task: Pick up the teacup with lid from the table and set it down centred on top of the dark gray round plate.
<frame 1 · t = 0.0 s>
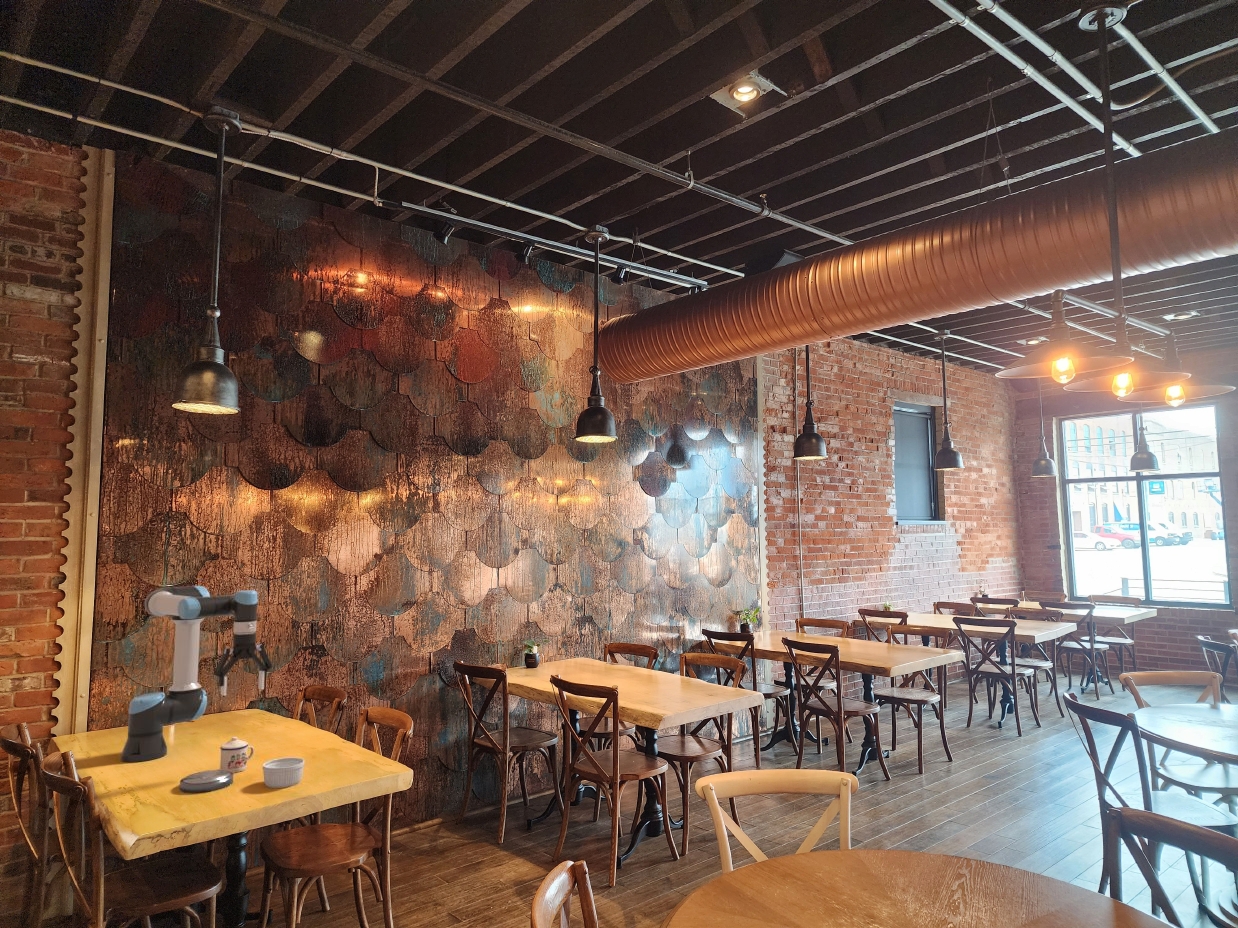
hand: (242, 691, 275), 28 cm above the table, tool pointing down, fingers open, 13 cm apart
dark gray round plate: (206, 785, 257), on the table
teacup with lid: (237, 769, 274), on the table
ramekin: (283, 783, 258), on the table
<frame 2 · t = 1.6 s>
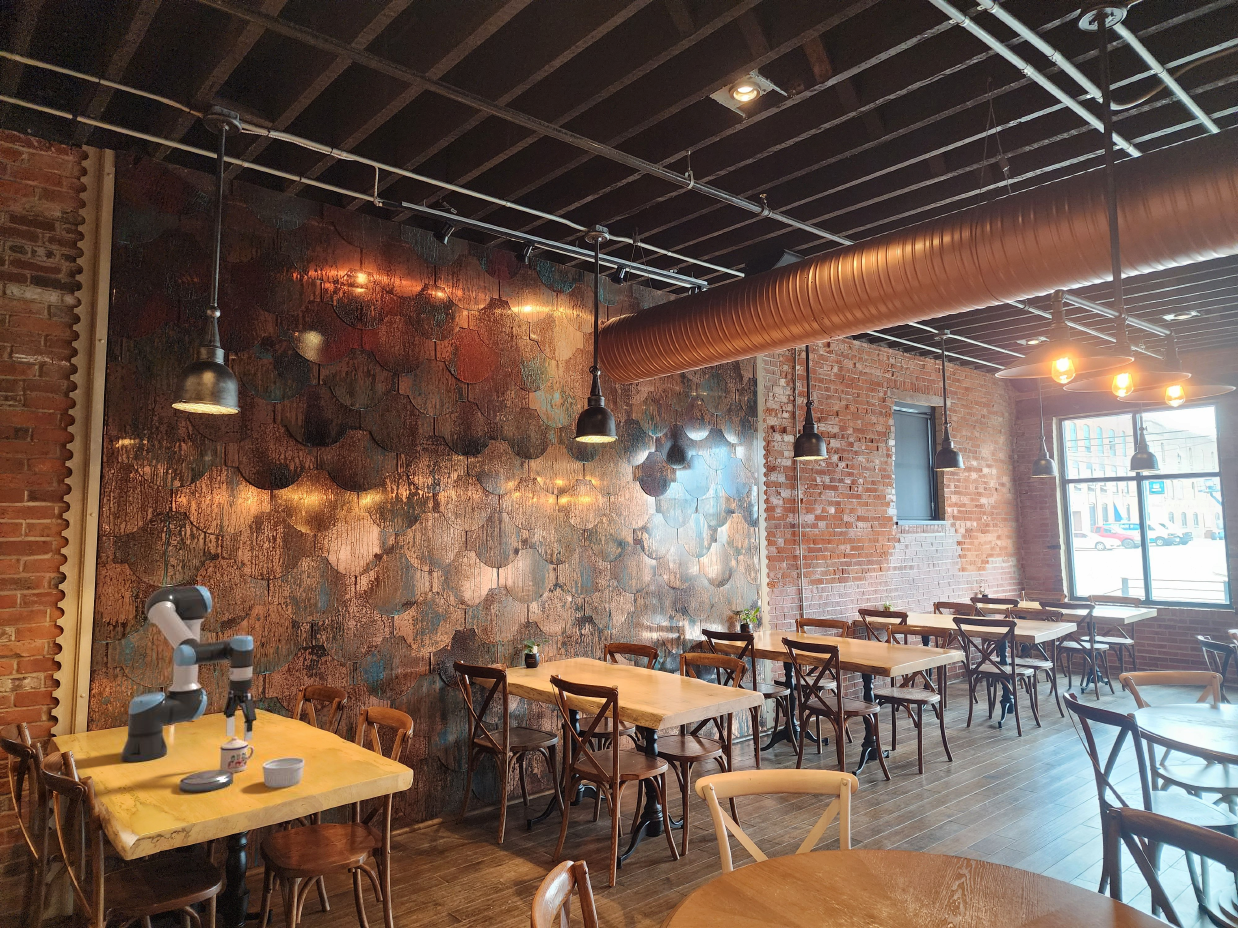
hand: (238, 738, 275), 11 cm above the table, tool pointing down, fingers open, 13 cm apart
nothing on the table moved.
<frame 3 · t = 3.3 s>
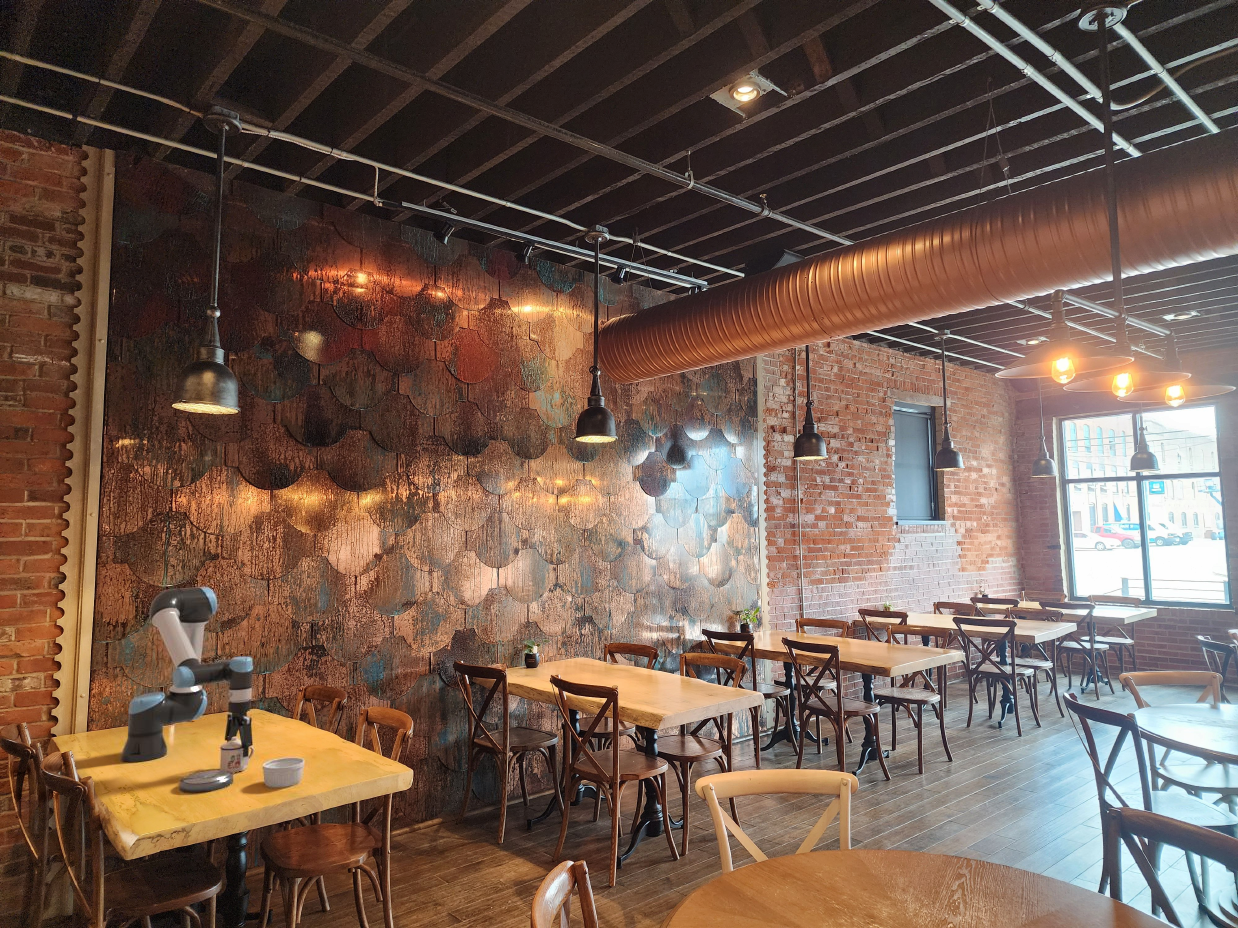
hand: (237, 763, 275), 2 cm above the table, tool pointing down, fingers closed on teacup with lid, 9 cm apart
teacup with lid: (237, 769, 274), on the table, touching gripper
everything else where it was.
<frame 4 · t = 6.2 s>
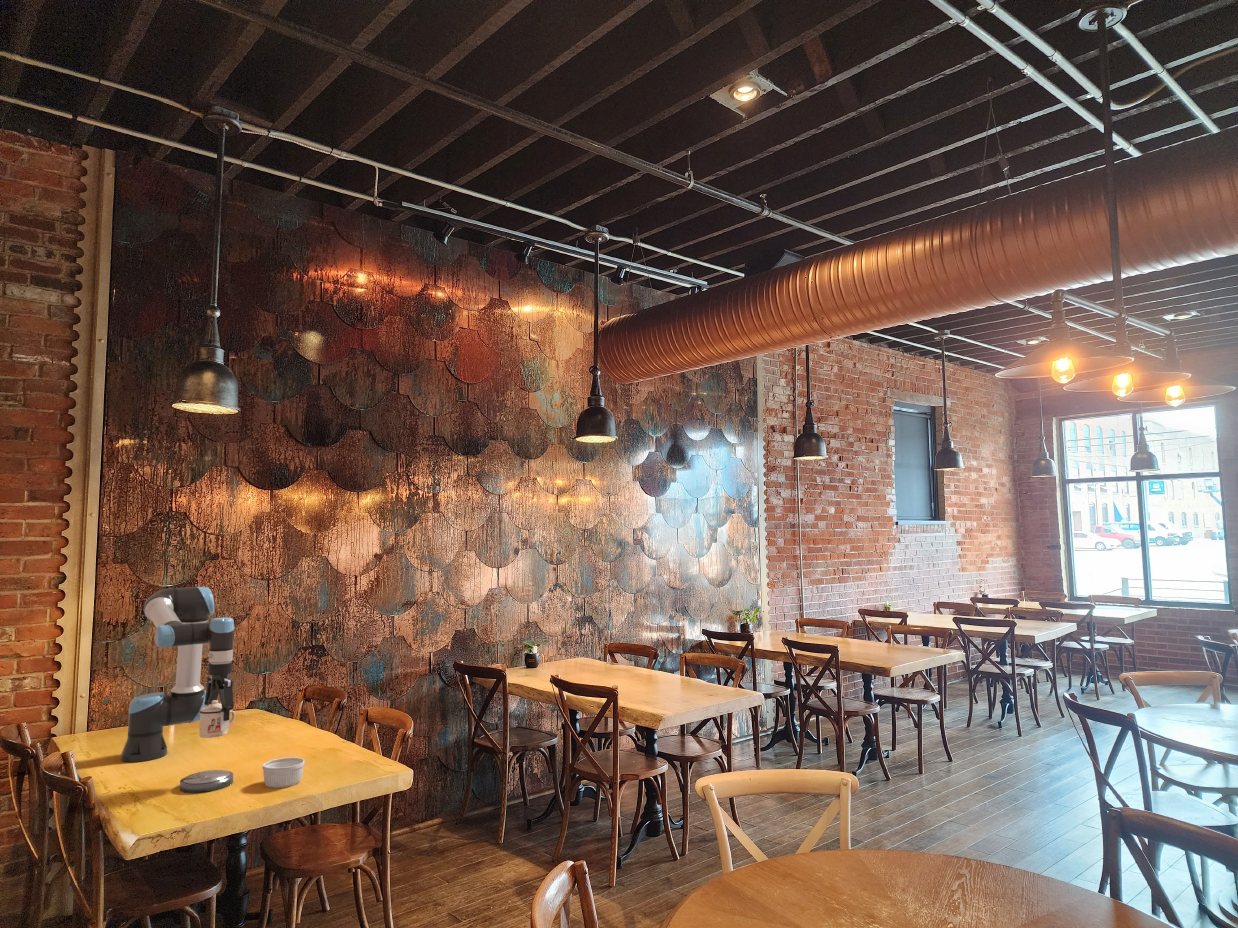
hand: (217, 727, 263), 18 cm above the table, tool pointing down, fingers closed on teacup with lid, 9 cm apart
teacup with lid: (217, 734, 263), point 16 cm above the table, touching gripper
everything else where it was.
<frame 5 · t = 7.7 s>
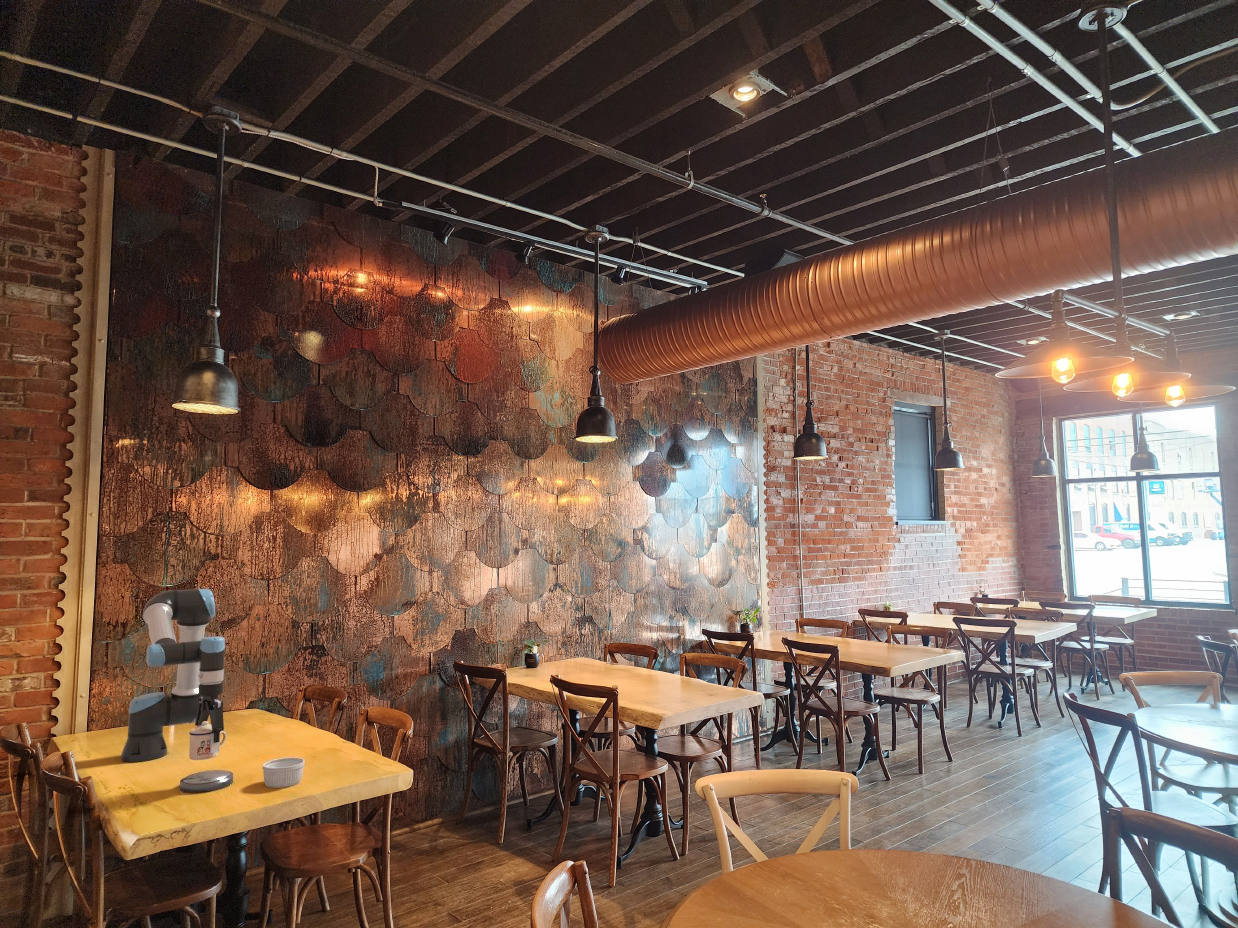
hand: (208, 749, 258), 12 cm above the table, tool pointing down, fingers closed on teacup with lid, 9 cm apart
teacup with lid: (207, 756, 258), point 10 cm above the table, touching gripper
everything else where it was.
when the fingers open (6 cm above the table, at t = 9.1 s): teacup with lid drops 1 cm, resting on dark gray round plate.
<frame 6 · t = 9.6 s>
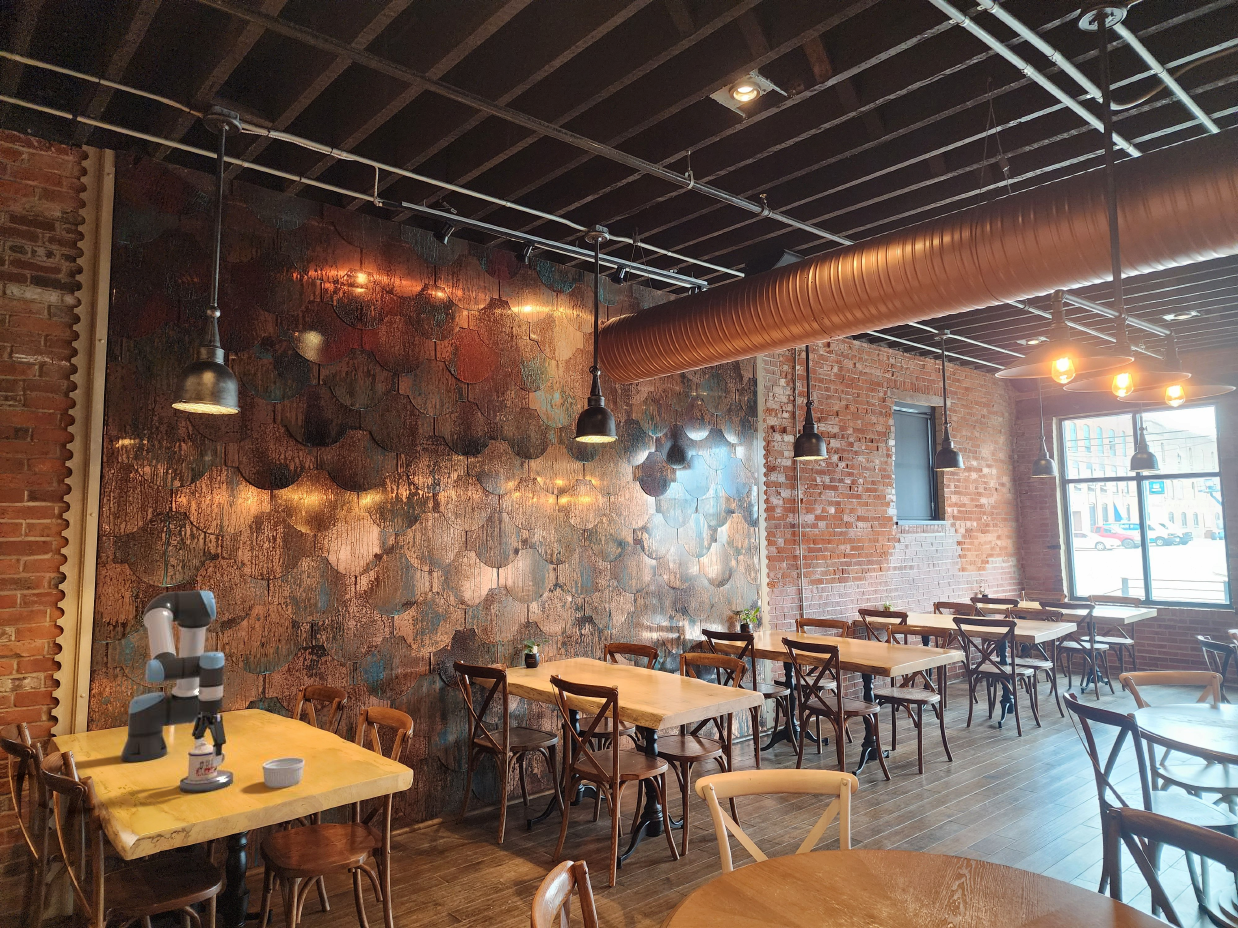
hand: (207, 761, 257), 8 cm above the table, tool pointing down, fingers open, 13 cm apart
teacup with lid: (206, 776, 257), point 3 cm above the table, touching dark gray round plate
everything else where it was.
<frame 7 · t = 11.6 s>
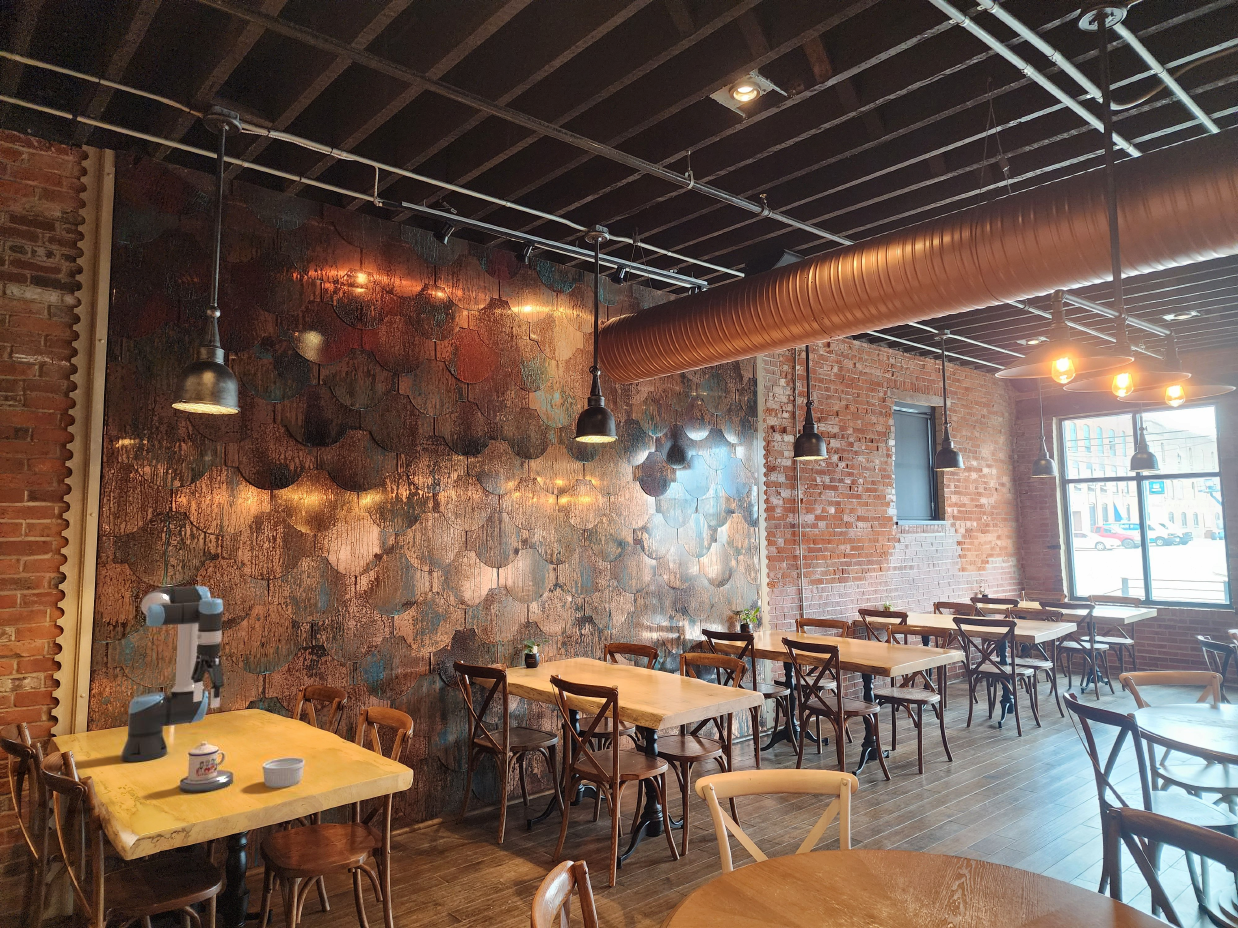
hand: (206, 703, 265), 26 cm above the table, tool pointing down, fingers open, 13 cm apart
nothing on the table moved.
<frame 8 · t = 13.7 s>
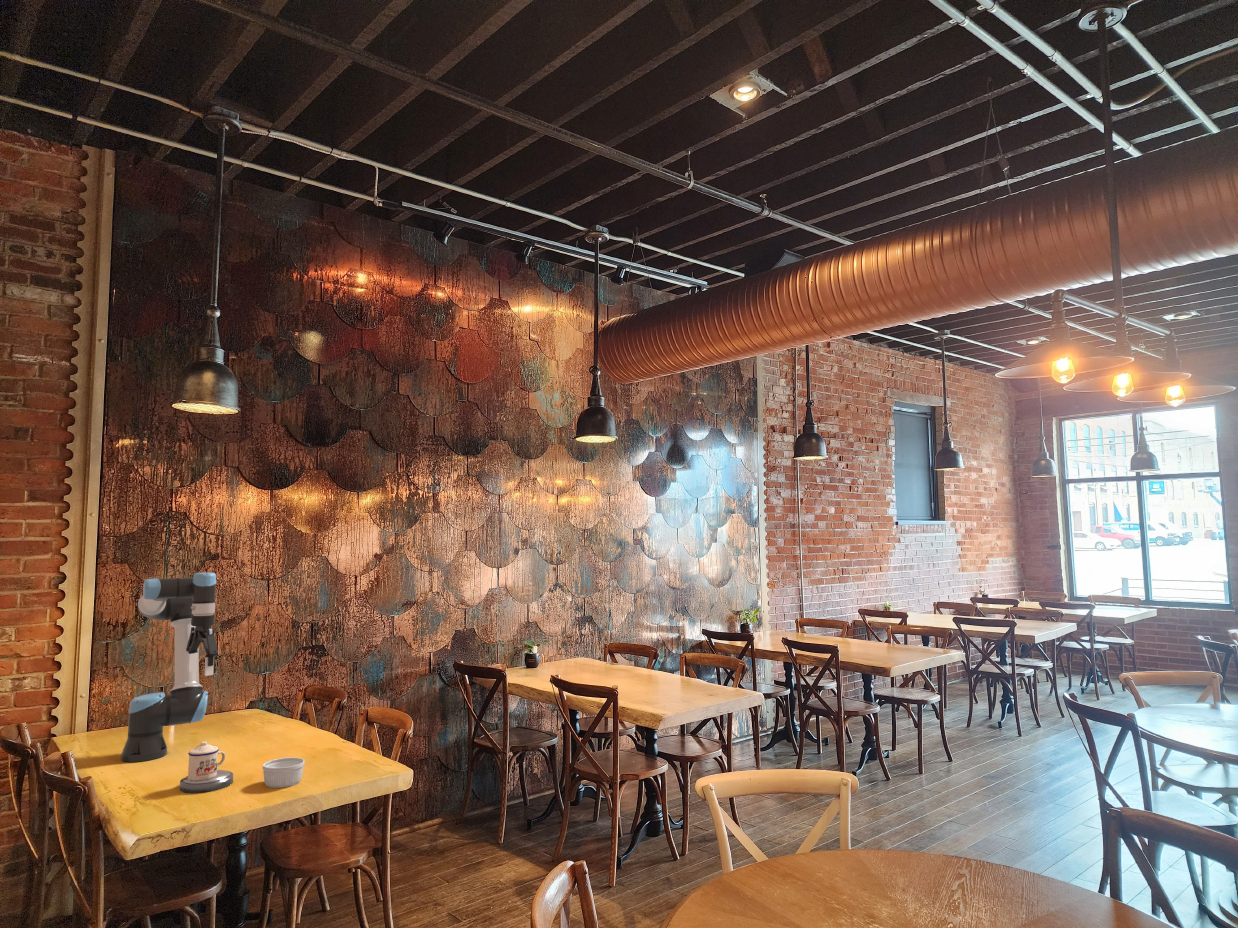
hand: (200, 673, 276), 35 cm above the table, tool pointing down, fingers open, 13 cm apart
nothing on the table moved.
at the end: teacup with lid inside the target area on the dark gray round plate (0.1 cm from its centre), point 2.8 cm above the dark gray round plate's base; teacup with lid tilted 0°; the gripper is holding nothing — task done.
